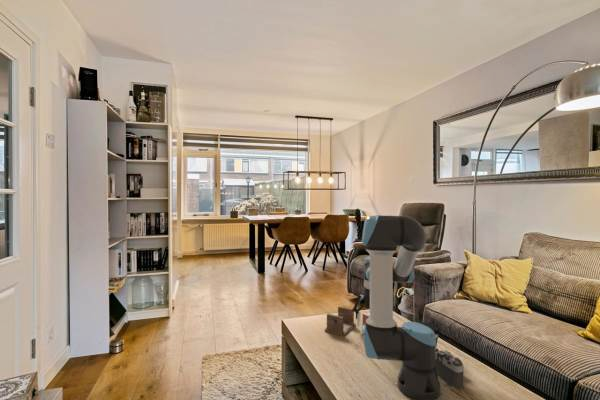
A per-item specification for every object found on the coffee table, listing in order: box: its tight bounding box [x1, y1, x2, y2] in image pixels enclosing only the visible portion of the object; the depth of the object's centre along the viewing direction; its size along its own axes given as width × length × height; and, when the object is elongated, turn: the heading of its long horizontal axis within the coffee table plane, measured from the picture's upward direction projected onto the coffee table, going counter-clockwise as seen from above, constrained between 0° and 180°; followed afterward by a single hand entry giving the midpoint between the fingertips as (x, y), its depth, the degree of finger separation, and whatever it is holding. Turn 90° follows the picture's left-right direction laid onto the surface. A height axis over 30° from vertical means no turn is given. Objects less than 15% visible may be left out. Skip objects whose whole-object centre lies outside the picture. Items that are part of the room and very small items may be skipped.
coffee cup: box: [419, 322, 441, 347], centre depth 147 cm, size 11×11×12 cm
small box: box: [361, 312, 370, 334], centre depth 165 cm, size 8×6×10 cm
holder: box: [324, 305, 357, 337], centre depth 173 cm, size 18×11×9 cm, turn 147°
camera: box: [435, 347, 465, 389], centre depth 128 cm, size 16×10×10 cm, turn 19°
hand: (371, 328), depth 165 cm, fingers open, 13 cm apart
